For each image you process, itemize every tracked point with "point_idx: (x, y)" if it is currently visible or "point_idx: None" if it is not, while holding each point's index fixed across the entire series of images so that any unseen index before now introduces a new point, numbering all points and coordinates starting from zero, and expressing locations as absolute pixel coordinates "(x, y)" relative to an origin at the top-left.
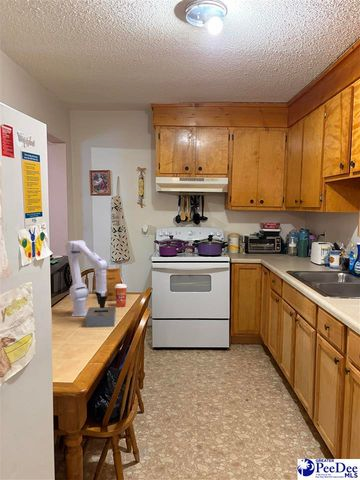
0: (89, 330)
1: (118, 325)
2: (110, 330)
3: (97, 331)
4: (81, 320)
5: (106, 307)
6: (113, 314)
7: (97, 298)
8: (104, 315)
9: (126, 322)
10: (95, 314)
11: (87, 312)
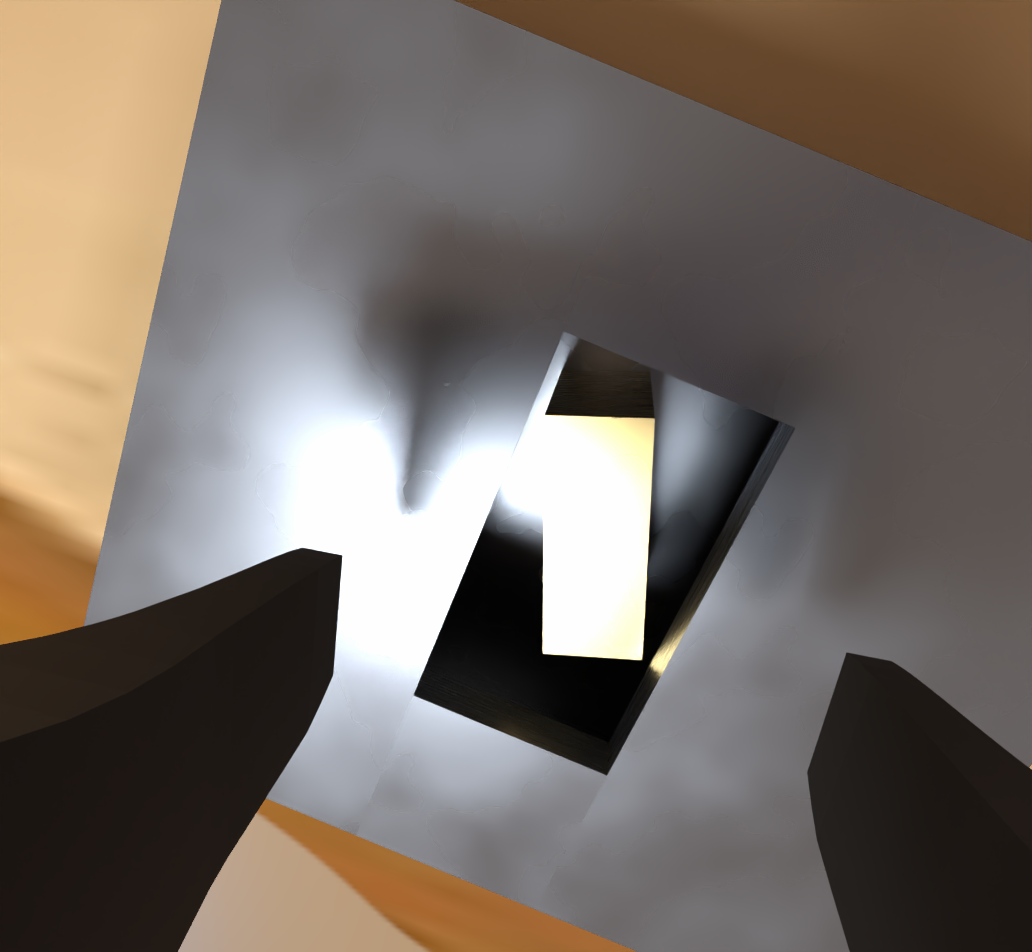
0: (122, 39)
1: None
2: (7, 445)
3: (14, 194)
4: (995, 33)
5: None
6: None
7: (982, 810)
8: (135, 512)
9: (342, 832)
10: (318, 308)
11: (679, 113)
